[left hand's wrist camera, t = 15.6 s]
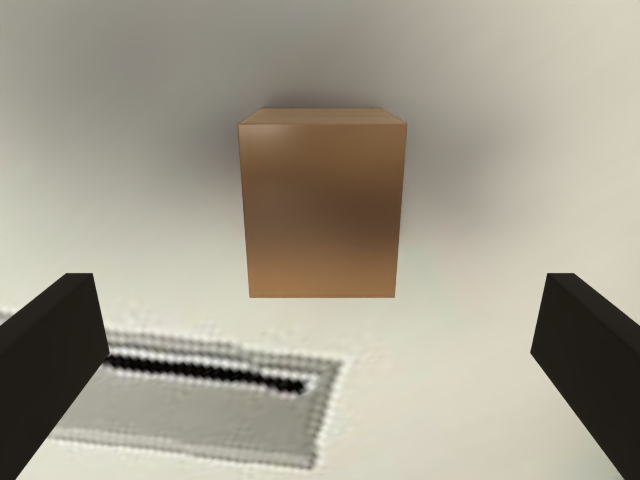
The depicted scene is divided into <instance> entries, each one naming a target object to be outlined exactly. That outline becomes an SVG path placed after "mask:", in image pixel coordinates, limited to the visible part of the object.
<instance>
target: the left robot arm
mask: <svg viewBox="0 0 640 480" xmlns="http://www.w3.org/2000/svg"><path fill="white" fill-rule="evenodd" d="M109 353H110V352H109V347H108V343H107V338H106V333H105V329H104V324H103V319H102V315H101V310H100V305H99V301H98V296H97V291H96V287H95V282H94V277H93V273H66V274H65V275H63V276H62V277H61V278H59V279H58V280H57V281H56V282H54V283H53V284H52V285H51V286H49V287H48V288H47V289H46V290H44V291H43V292H42V293H41V294H39V295H38V296H37V297H36V298H34V299H33V300H32V301H31V302H29V303H28V304H27V305H26V306H24V307H23V308H22V309H21V310H19V311H18V312H17V313H16V314H14V315H13V316H12V317H11V318H9V319H8V320H7V321H6V322H4V323H3V324H2V325H1V326H0V480H15V479H16V478H17V477H18V475H19V474H20V473H21V471H22V470H23V469H24V467H25V466H26V465H27V463H28V462H29V461H30V459H31V458H32V457H33V455H34V454H35V453H36V451H37V450H38V449H39V447H40V446H41V445H42V443H43V442H44V441H45V439H46V438H47V436H48V435H49V434H50V432H51V431H52V430H53V428H54V427H55V426H56V424H57V423H58V422H59V420H60V419H61V418H62V416H63V415H64V414H65V412H66V411H67V410H68V408H69V407H70V406H71V404H72V403H73V402H74V400H75V399H76V398H77V396H78V395H79V394H80V392H81V391H82V389H83V388H84V387H85V385H86V384H87V383H88V381H89V380H90V379H91V377H92V376H93V375H94V373H95V372H96V371H97V369H98V368H99V367H100V365H101V364H102V363H103V361H104V360H105V359H106V357H107V356H108V355H109ZM530 353H531V355H532V356H533V357H534V359H535V360H536V361H537V363H538V364H539V365H540V367H541V368H542V369H543V371H544V372H545V373H546V375H547V376H548V377H549V379H550V380H551V381H552V383H553V384H554V385H555V387H556V388H557V389H558V391H559V392H560V394H561V395H562V396H563V398H564V399H565V400H566V402H567V403H568V404H569V406H570V407H571V408H572V410H573V411H574V412H575V414H576V415H577V416H578V418H579V419H580V420H581V422H582V423H583V424H584V426H585V427H586V428H587V430H588V431H589V432H590V434H591V435H592V436H593V438H594V439H595V441H596V442H597V443H598V445H599V446H600V447H601V449H602V450H603V451H604V453H605V454H606V455H607V457H608V458H609V459H610V461H611V462H612V463H613V465H614V466H615V467H616V469H617V470H618V471H619V473H620V474H621V475H622V477H623V478H624V479H625V480H640V326H639V325H638V324H637V323H636V322H634V321H633V320H632V319H631V318H629V317H628V316H627V315H626V314H624V313H623V312H622V311H621V310H619V309H618V308H617V307H616V306H614V305H613V304H612V303H611V302H609V301H608V300H607V299H606V298H604V297H603V296H602V295H601V294H599V293H598V292H597V291H596V290H594V289H593V288H592V287H591V286H589V285H588V284H587V283H586V282H584V281H583V280H582V279H581V278H579V277H578V276H577V275H575V274H574V273H547V277H546V282H545V287H544V291H543V296H542V301H541V305H540V310H539V315H538V319H537V324H536V329H535V333H534V338H533V343H532V347H531V352H530Z"/></svg>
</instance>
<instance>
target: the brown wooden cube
mask: <svg viewBox="0 0 640 480" xmlns="http://www.w3.org/2000/svg"><path fill="white" fill-rule="evenodd" d="M406 133H407V124H406V123H405V122H403V121H402V120H400V119H398V118H397V117H395V116H394V115H392V114H390V113H389V112H387V111H386V110H384V109H382V108H261V109H260V110H258V111H256V112H255V113H253V114H252V115H250V116H249V117H247V118H246V119H244V120H243V121H241V122H240V123H238V138H239V153H240V167H241V181H242V196H243V210H244V225H245V239H246V254H247V268H248V283H249V297H250V298H394V297H395V286H396V272H397V258H398V244H399V230H400V216H401V203H402V189H403V175H404V161H405V147H406Z"/></svg>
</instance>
